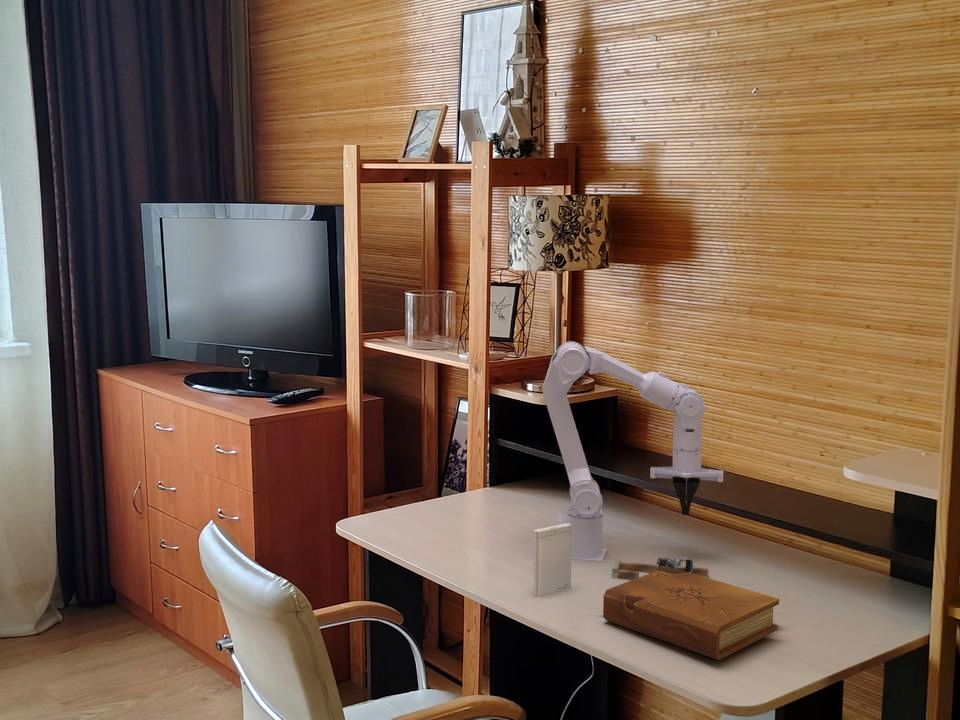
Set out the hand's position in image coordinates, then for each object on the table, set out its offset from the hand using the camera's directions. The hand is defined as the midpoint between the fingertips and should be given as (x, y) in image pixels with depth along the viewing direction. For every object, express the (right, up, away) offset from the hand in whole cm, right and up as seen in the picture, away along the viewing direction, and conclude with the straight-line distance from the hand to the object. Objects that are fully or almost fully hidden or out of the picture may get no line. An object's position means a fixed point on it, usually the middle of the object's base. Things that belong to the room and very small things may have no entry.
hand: (685, 513), depth 216 cm
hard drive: (-29, -12, -18) cm, 36 cm away
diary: (-6, -15, -34) cm, 38 cm away
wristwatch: (-3, -12, -11) cm, 17 cm away
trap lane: (-7, -11, -10) cm, 17 cm away
